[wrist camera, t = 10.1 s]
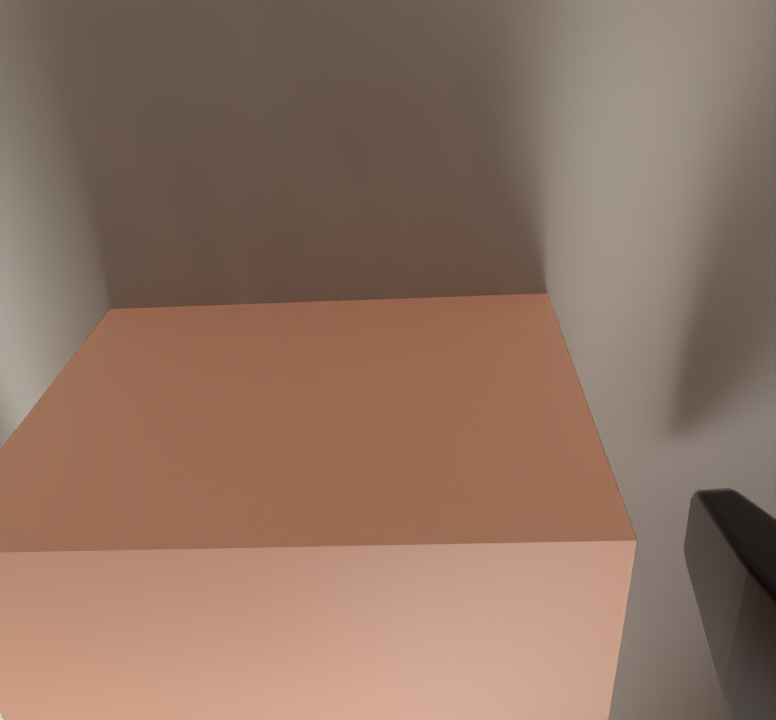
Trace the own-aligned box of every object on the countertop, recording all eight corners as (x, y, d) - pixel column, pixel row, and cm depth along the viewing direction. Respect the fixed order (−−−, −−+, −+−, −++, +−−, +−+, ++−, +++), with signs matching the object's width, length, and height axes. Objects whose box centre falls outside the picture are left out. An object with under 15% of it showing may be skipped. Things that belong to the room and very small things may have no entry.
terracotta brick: (526, 595, 11) (579, 904, 8) (192, 600, 11) (97, 900, 8) (544, 287, 8) (637, 539, 5) (114, 303, 9) (-81, 555, 5)
